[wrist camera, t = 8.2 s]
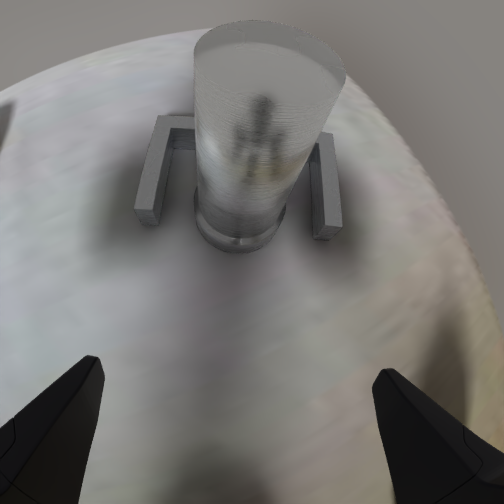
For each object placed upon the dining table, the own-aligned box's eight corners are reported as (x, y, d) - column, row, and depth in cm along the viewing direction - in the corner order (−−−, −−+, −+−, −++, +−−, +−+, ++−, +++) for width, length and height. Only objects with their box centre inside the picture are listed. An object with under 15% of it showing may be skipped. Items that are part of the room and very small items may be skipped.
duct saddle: (329, 240, 21) (367, 202, 15) (141, 224, 20) (119, 178, 14) (318, 118, 25) (340, 69, 19) (171, 102, 23) (166, 48, 18)
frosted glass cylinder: (295, 216, 21) (380, 77, 9) (236, 271, 20) (278, 143, 7) (239, 163, 22) (268, 7, 10) (178, 210, 20) (151, 49, 8)
